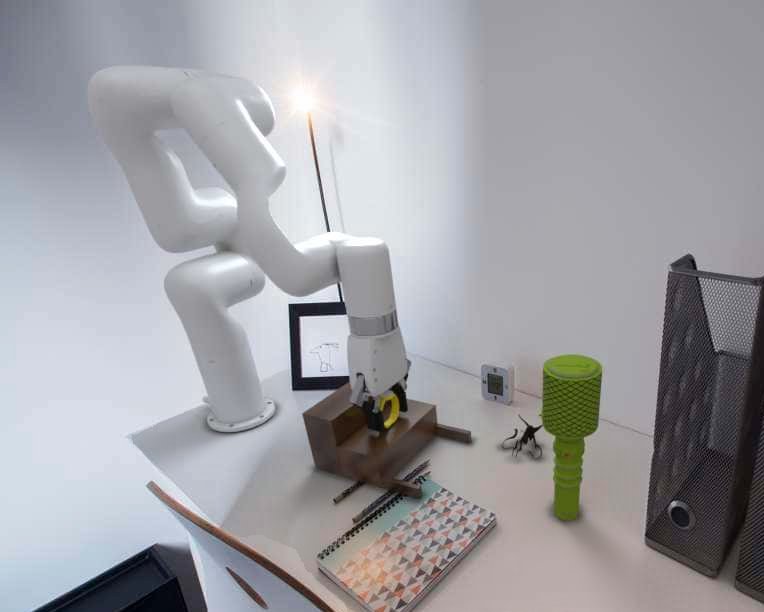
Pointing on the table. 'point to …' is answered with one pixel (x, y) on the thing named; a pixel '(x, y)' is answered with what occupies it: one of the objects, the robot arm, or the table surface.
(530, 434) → the creature
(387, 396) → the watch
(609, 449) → the table surface
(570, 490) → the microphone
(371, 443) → the step shelf
